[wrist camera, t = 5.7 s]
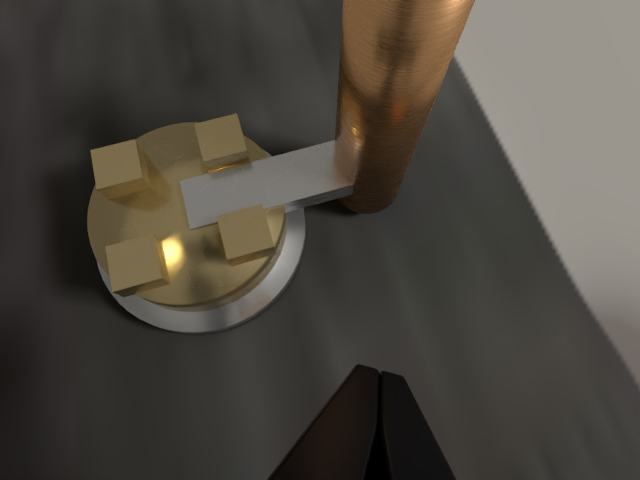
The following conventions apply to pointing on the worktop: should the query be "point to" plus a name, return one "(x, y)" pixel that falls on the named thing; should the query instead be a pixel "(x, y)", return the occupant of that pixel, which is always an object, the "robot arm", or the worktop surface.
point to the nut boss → (237, 310)
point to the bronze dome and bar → (268, 167)
